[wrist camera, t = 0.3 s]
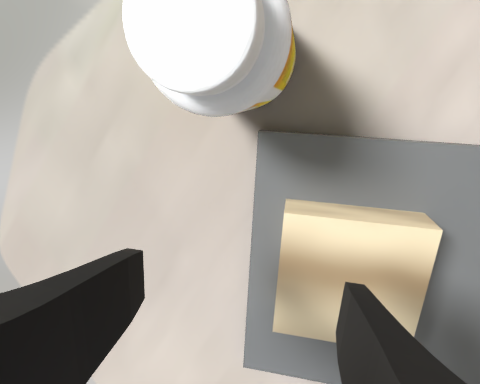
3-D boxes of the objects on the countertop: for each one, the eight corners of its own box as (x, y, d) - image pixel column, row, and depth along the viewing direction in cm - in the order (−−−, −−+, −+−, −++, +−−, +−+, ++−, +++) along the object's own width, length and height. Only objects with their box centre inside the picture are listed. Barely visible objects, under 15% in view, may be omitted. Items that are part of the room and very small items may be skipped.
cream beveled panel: (396, 325, 20) (409, 355, 18) (275, 306, 22) (272, 331, 19) (424, 212, 18) (443, 230, 16) (285, 198, 19) (284, 213, 17)
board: (545, 415, 21) (554, 427, 20) (245, 358, 25) (243, 367, 24) (669, 158, 16) (687, 161, 15) (259, 130, 19) (258, 131, 18)
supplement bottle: (257, -19, 17) (200, -171, 7) (315, 68, 18) (333, 34, 8) (183, 51, 19) (58, 4, 9) (238, 127, 19) (177, 158, 10)
